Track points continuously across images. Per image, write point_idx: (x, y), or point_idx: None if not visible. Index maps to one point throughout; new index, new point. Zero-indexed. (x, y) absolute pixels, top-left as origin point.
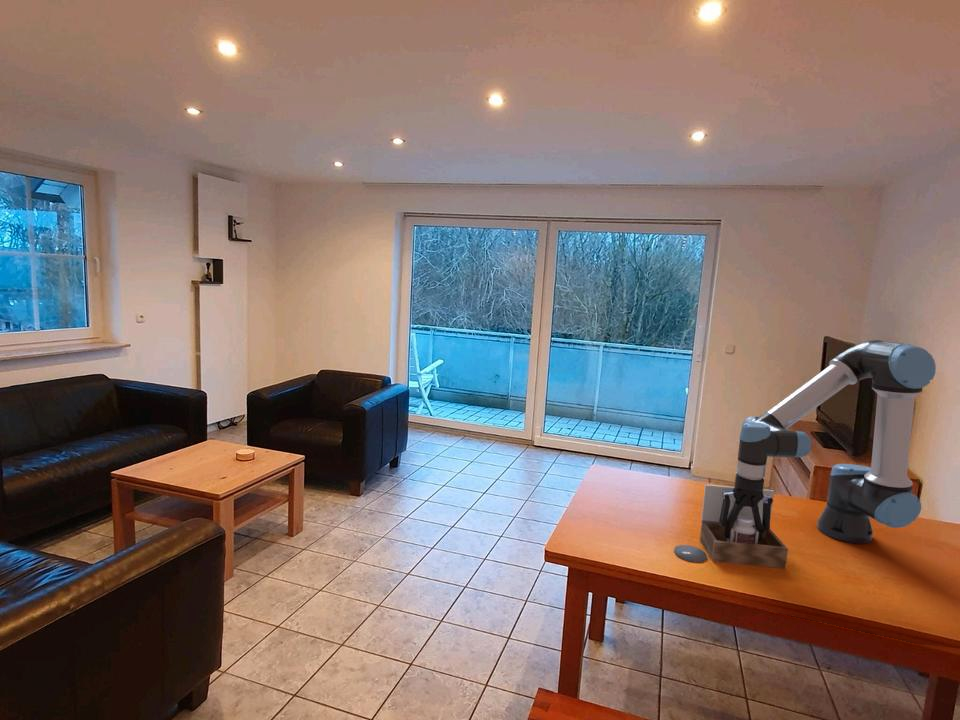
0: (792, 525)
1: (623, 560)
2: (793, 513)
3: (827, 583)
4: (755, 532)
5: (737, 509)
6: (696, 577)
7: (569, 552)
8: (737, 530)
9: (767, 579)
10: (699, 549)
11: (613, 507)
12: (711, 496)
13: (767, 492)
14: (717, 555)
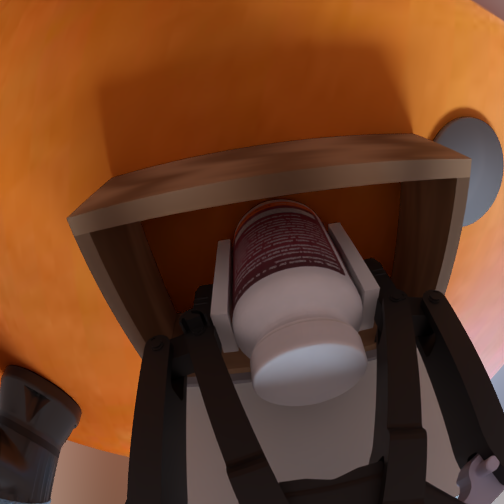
0: (119, 411)
1: None
2: (125, 435)
3: (7, 134)
4: (229, 313)
5: (413, 419)
6: (472, 18)
7: None
8: (352, 285)
9: (205, 36)
10: None
11: (494, 348)
12: (450, 446)
13: None
14: (415, 139)
